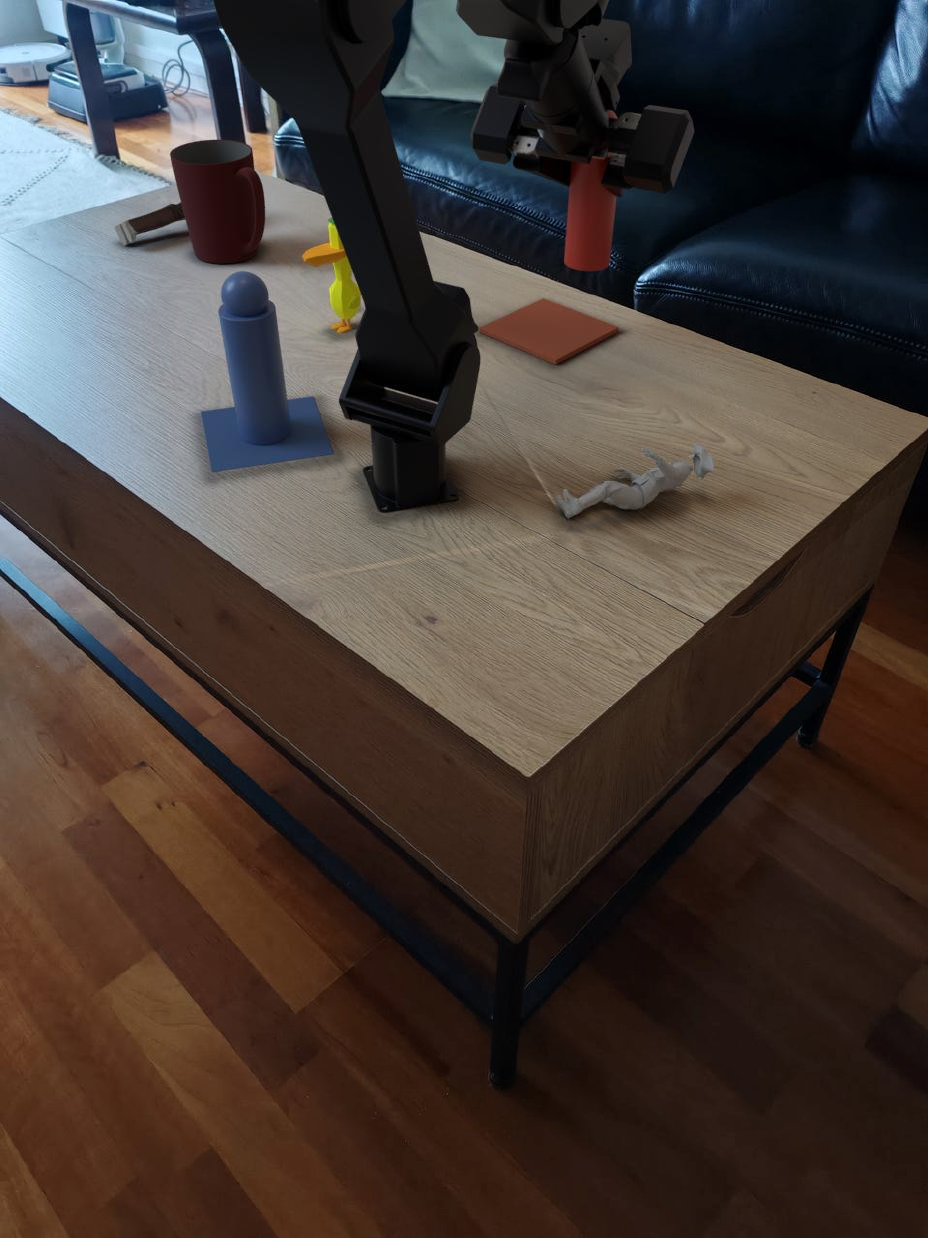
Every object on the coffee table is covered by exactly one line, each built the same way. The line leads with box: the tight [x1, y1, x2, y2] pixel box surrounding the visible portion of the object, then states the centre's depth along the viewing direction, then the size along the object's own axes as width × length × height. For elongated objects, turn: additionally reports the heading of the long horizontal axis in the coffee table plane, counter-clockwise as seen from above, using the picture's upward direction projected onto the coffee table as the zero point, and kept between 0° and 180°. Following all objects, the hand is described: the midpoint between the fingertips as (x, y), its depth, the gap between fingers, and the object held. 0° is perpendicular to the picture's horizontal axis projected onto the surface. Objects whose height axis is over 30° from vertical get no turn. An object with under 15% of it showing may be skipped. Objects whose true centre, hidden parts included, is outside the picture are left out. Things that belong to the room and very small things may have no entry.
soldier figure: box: [555, 442, 715, 519], centre depth 75 cm, size 8×5×12 cm
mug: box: [169, 139, 266, 264], centre depth 109 cm, size 12×9×11 cm
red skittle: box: [563, 110, 618, 272], centre depth 90 cm, size 4×4×14 cm
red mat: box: [479, 297, 620, 365], centre depth 98 cm, size 10×10×1 cm
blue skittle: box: [217, 270, 291, 445], centre depth 78 cm, size 4×4×14 cm
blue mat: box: [200, 395, 335, 473], centre depth 83 cm, size 10×10×1 cm
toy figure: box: [301, 217, 362, 334], centre depth 94 cm, size 7×4×12 cm, turn 129°
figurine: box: [114, 201, 186, 246], centre depth 116 cm, size 8×5×15 cm
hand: (599, 187), depth 91 cm, fingers closed on red skittle, 4 cm apart
